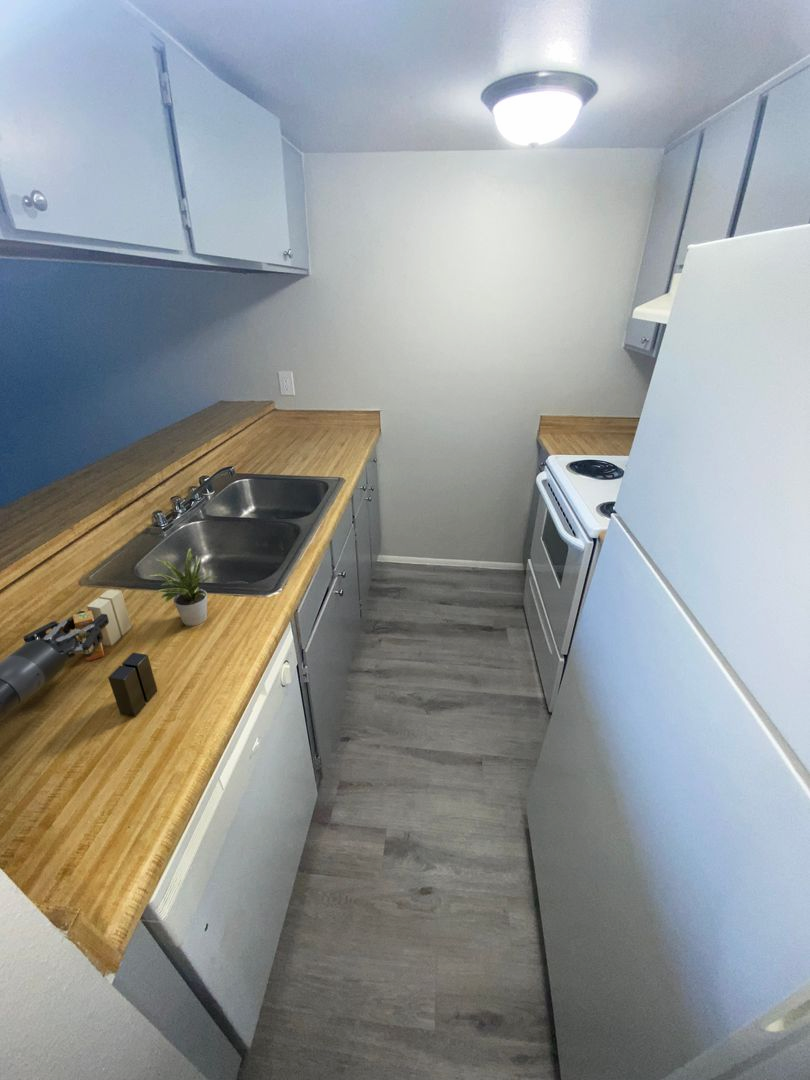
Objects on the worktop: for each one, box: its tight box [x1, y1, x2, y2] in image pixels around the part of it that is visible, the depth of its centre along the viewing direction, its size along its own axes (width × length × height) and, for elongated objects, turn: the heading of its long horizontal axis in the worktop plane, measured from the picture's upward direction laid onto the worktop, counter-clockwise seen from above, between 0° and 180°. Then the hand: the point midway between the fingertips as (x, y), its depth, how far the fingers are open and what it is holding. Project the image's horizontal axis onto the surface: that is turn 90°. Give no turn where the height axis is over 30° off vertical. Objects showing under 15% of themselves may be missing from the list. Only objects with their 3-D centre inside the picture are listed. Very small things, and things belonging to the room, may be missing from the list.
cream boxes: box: [86, 588, 132, 647], centre depth 102 cm, size 6×3×10 cm, turn 171°
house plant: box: [145, 547, 216, 627], centre depth 107 cm, size 14×14×16 cm
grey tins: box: [107, 652, 158, 718], centre depth 86 cm, size 6×3×9 cm, turn 171°
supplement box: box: [72, 610, 105, 662], centre depth 96 cm, size 3×3×10 cm
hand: (94, 616), depth 97 cm, fingers closed on supplement box, 4 cm apart
